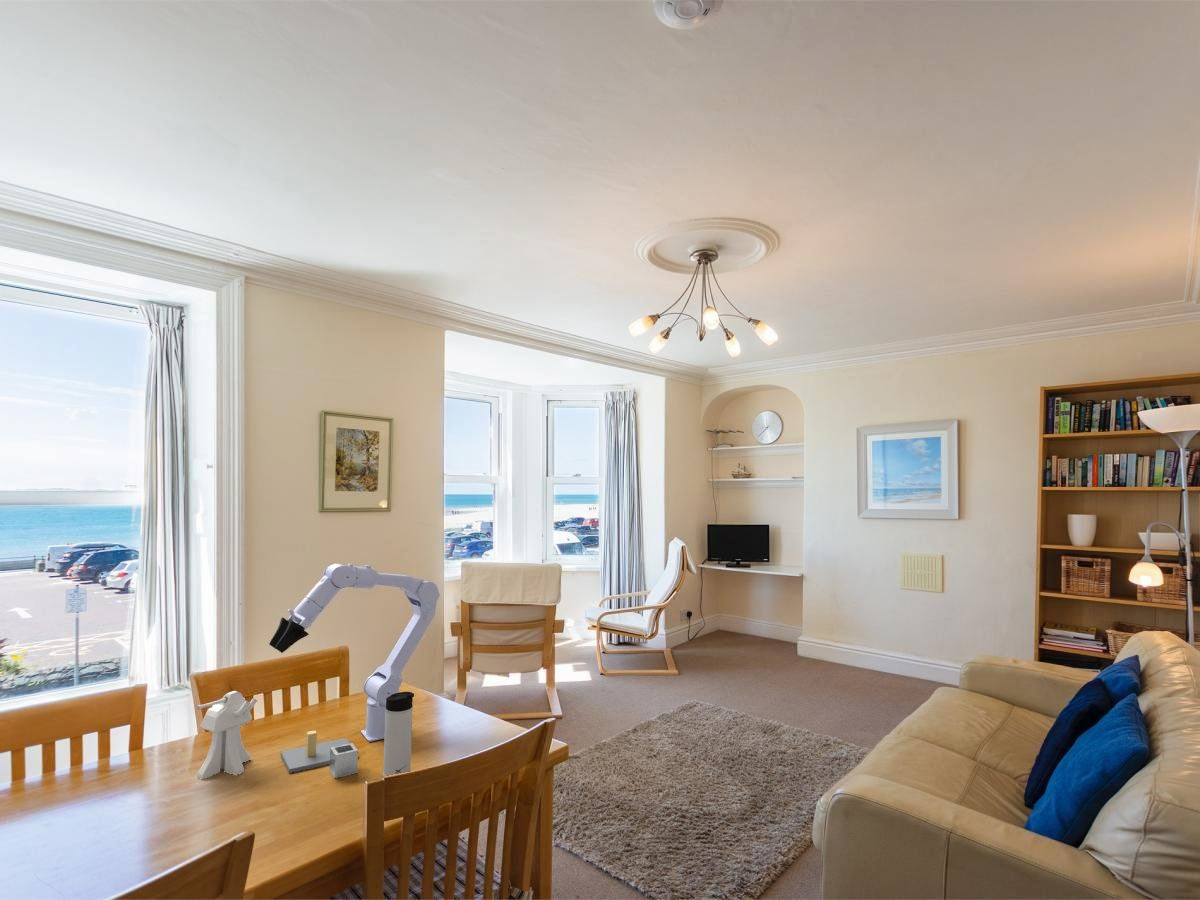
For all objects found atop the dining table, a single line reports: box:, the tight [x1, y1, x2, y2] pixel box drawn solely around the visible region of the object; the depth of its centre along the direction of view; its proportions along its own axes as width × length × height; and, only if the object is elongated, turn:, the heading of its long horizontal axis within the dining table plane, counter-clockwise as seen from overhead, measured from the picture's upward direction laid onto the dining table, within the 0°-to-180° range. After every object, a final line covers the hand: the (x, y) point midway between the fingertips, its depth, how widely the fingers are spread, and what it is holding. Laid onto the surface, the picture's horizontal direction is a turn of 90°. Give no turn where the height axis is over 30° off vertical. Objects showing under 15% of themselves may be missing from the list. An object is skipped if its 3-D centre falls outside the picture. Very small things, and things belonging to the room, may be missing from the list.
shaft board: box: [280, 730, 350, 774], centre depth 164 cm, size 16×12×6 cm
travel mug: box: [382, 691, 415, 778], centre depth 154 cm, size 6×7×20 cm
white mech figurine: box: [196, 690, 258, 780], centre depth 157 cm, size 12×13×18 cm
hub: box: [328, 742, 359, 779], centre depth 156 cm, size 5×5×6 cm
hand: (275, 648), depth 161 cm, fingers open, 7 cm apart
